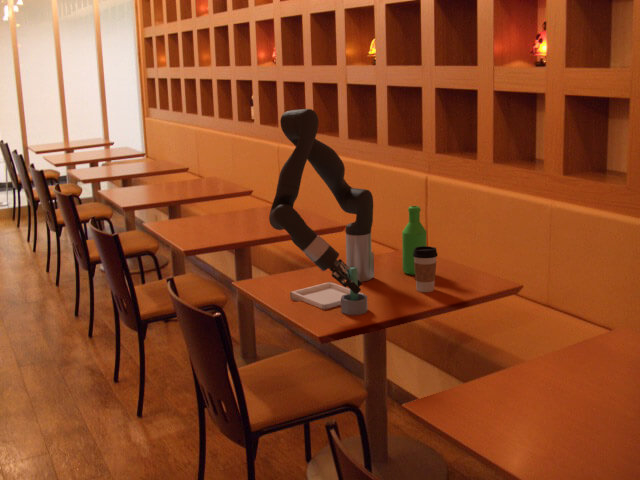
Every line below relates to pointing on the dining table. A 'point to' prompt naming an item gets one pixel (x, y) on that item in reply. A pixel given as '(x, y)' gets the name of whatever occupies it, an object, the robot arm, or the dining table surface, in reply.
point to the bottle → (412, 239)
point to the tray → (321, 295)
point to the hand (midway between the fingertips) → (359, 288)
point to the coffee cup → (425, 267)
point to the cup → (354, 305)
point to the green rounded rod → (354, 278)
